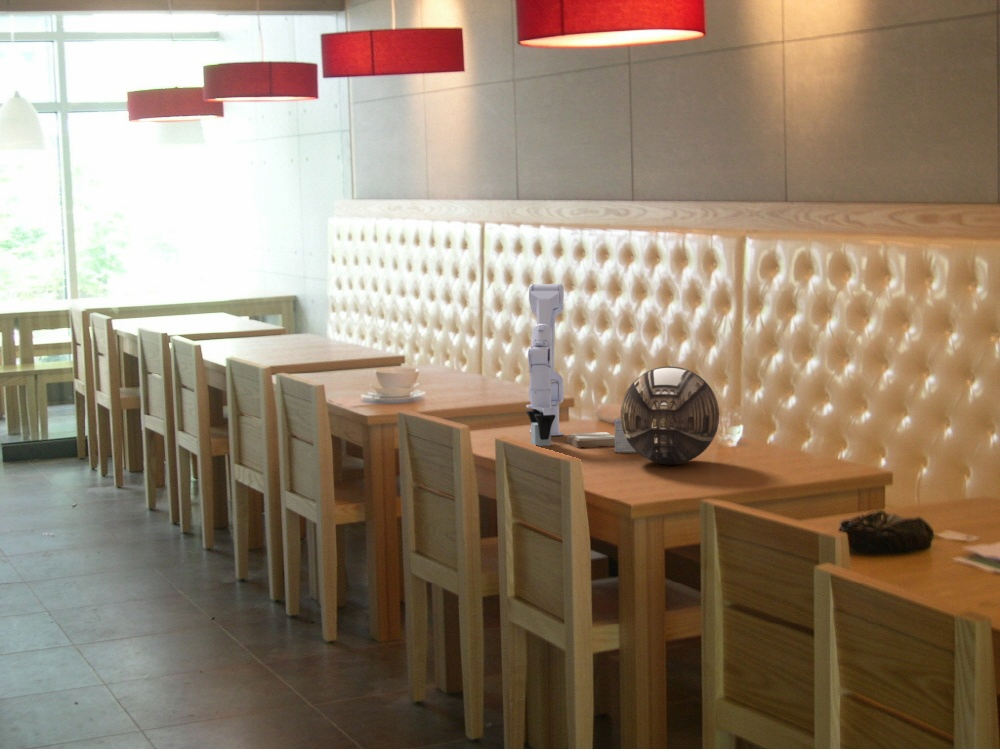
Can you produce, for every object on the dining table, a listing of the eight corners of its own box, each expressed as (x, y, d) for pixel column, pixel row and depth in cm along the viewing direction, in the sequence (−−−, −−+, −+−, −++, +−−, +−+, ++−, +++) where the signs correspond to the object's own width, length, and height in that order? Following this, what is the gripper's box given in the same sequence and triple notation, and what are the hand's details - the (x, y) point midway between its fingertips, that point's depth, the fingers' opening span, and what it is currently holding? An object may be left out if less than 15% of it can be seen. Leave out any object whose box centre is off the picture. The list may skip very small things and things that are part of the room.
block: (531, 443, 365) (531, 422, 364) (546, 442, 366) (546, 421, 365) (535, 446, 360) (535, 424, 360) (550, 445, 361) (550, 424, 361)
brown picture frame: (567, 442, 366) (567, 433, 365) (608, 440, 368) (608, 431, 368) (577, 448, 356) (577, 439, 356) (619, 445, 359) (619, 436, 358)
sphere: (723, 456, 340) (724, 362, 337) (713, 474, 316) (713, 373, 313) (629, 453, 347) (629, 360, 344) (612, 470, 323) (612, 371, 320)
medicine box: (644, 450, 352) (644, 418, 351) (644, 453, 347) (644, 421, 346) (614, 450, 353) (614, 418, 352) (614, 453, 348) (614, 421, 347)
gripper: (520, 386, 367) (520, 433, 369) (533, 392, 353) (533, 442, 355) (544, 385, 369) (544, 432, 370) (558, 391, 355) (558, 440, 356)
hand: (540, 437), depth 363 cm, fingers open, 7 cm apart
